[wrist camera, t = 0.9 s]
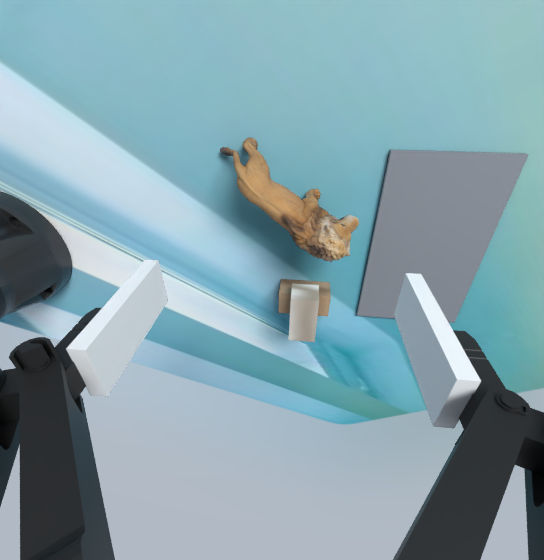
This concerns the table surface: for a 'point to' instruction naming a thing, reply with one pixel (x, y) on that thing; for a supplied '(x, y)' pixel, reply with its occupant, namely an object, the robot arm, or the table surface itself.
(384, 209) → the gray mat
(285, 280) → the brick stack
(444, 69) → the table surface
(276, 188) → the lion figurine
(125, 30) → the table surface
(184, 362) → the table surface
